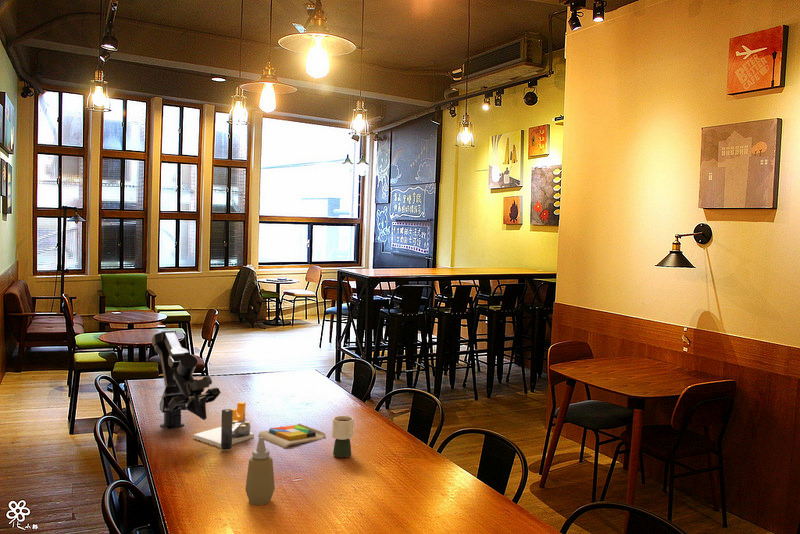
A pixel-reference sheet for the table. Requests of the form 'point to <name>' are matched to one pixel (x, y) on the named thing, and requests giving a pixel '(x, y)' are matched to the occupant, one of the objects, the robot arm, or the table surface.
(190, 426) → the table surface
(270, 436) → the wooden puzzle
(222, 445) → the dark cylinder with bar
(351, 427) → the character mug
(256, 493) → the squeeze bottle
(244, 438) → the cap plate
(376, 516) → the table surface
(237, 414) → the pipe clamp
